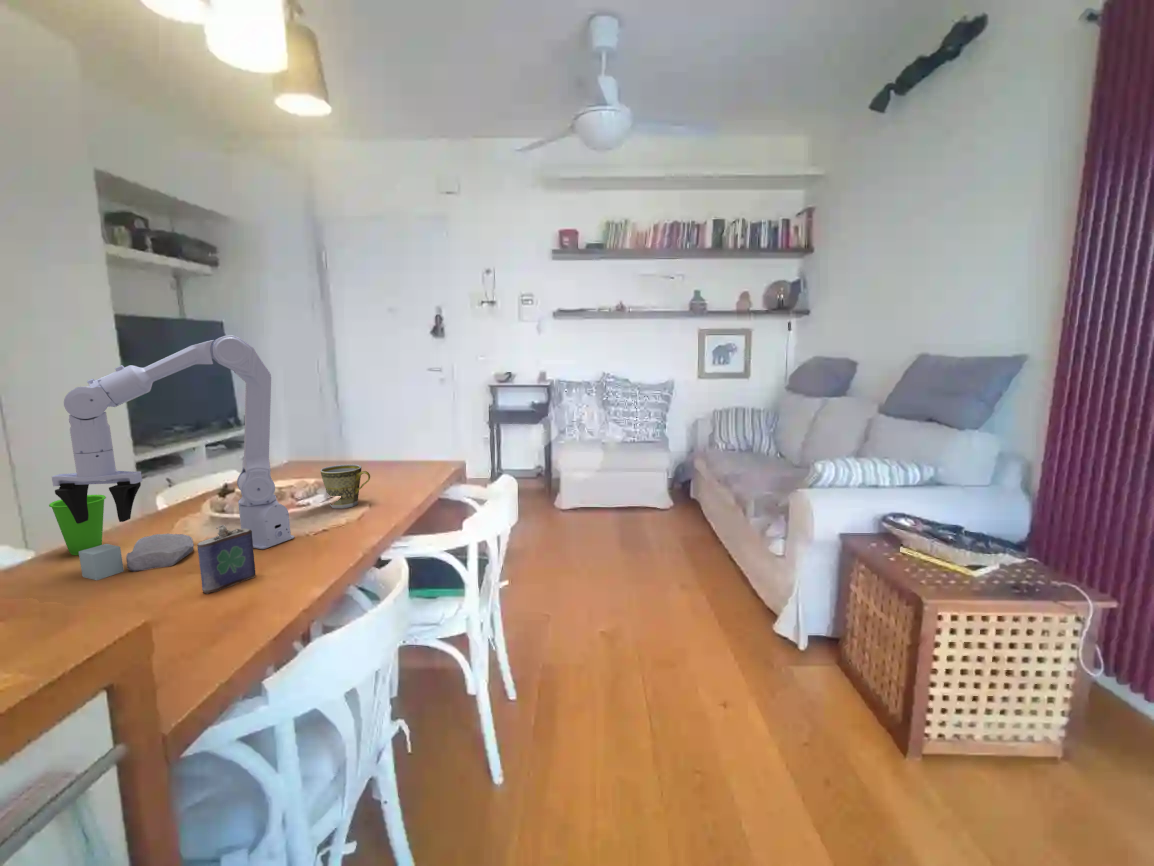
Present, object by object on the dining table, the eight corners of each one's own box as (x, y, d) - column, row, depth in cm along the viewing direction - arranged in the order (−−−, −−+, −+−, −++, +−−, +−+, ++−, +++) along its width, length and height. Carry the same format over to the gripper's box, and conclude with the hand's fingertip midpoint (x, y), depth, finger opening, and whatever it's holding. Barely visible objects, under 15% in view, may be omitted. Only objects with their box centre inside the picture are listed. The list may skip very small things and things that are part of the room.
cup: (110, 540, 128) (103, 492, 126) (115, 550, 121) (108, 499, 119) (56, 551, 121) (47, 500, 120) (58, 562, 115) (50, 509, 113)
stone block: (195, 554, 124) (138, 553, 119) (197, 533, 123) (140, 531, 119) (185, 576, 113) (122, 576, 109) (188, 552, 113) (124, 551, 108)
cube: (123, 571, 110) (120, 546, 109) (96, 580, 106) (92, 554, 105) (109, 568, 112) (106, 543, 111) (82, 577, 108) (78, 551, 107)
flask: (207, 595, 99) (200, 534, 97) (198, 591, 100) (190, 532, 98) (259, 575, 107) (253, 519, 105) (249, 573, 108) (243, 517, 106)
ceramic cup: (315, 510, 149) (312, 472, 147) (337, 499, 158) (334, 464, 157) (362, 511, 146) (359, 473, 145) (381, 501, 156) (379, 464, 155)
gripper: (148, 445, 112) (157, 513, 114) (68, 448, 111) (79, 516, 113) (123, 452, 105) (133, 524, 107) (38, 455, 104) (49, 527, 106)
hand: (103, 521), depth 110 cm, fingers open, 7 cm apart
